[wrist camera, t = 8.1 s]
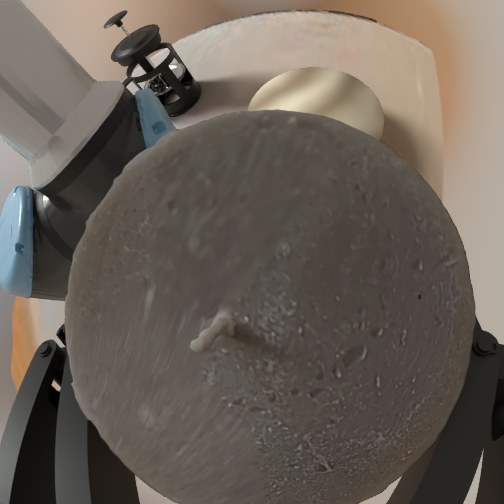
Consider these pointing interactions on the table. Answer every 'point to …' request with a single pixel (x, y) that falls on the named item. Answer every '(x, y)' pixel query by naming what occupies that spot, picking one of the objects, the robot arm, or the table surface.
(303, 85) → the beige round legged stand
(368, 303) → the pillar candle
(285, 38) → the table surface
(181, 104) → the french press
